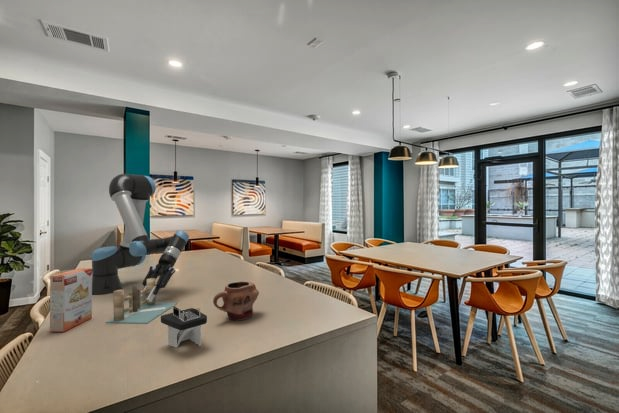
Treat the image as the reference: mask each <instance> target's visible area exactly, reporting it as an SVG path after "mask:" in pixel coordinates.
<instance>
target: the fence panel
mask: <svg viewBox="0 0 619 413" xmlns="http://www.w3.org/2000/svg"><path fill="white" fill-rule="evenodd" d="M155 285H156V280H155V278H148V279H147V289H145V290H143V289H142V290H141V289H140V288H139V289H138V309H140V308H141V305H143V304H145V303H147V305H151V304H155V303H156V299H157V298H156V295H155V296H154V298H153V300H152V302H149V301H148V300H147V298H148V296H149V294H150V292H151V291H152V289H153V287H154V286H155ZM155 287H156V286H155ZM146 292H147V295H146V298H145V299H144V301H142V302H141V294H144V293H146Z"/></svg>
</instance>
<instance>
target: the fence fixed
mask: <svg viewBox="0 0 619 413" xmlns="http://www.w3.org/2000/svg"><path fill="white" fill-rule="evenodd" d="M138 286H139V285H138V284H135V283H134V284H132V285H131V290H132V291H131V292H129V293H128V296H125V290H124V289H121V290H116V291H113V292H112V293H113V318H114V321H121V320H124V313H126V312H128V311H129V313H132V312H137V311H138ZM127 301H128V307H125V302H127Z"/></svg>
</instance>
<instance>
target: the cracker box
mask: <svg viewBox="0 0 619 413" xmlns="http://www.w3.org/2000/svg"><path fill="white" fill-rule="evenodd" d="M49 283H50V284H49V286H50V287H49V290H50V291H49V332H50V333H52V332H53V333H58V332H59V333H66V332H67V331H69V330H72V329H73V328H75V327H77V326H79V325H81V324H84V323H86V322H87V321H89V320H91V319H92V318H93V314H92V313H93V312H92V311H93V294H92V267H91V268H90V267H86V268H85V267H84V268H83V267H81V268H80V267H79V268H76V269H72V270H68V271H64V272H59V273H56V274H51V275H50V278H49Z"/></svg>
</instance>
